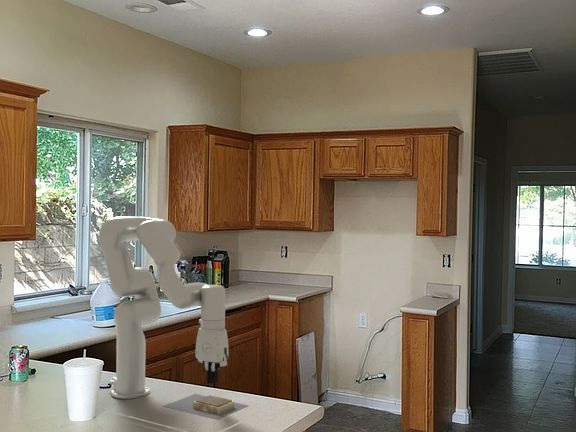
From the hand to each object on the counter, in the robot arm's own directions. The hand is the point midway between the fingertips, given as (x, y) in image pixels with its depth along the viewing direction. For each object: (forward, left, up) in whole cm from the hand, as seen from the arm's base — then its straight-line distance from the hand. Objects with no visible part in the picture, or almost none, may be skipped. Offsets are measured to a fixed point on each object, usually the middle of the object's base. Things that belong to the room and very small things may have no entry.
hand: (212, 382), depth 198 cm
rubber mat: (-2, 0, -8) cm, 9 cm away
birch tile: (-4, 0, -7) cm, 8 cm away
